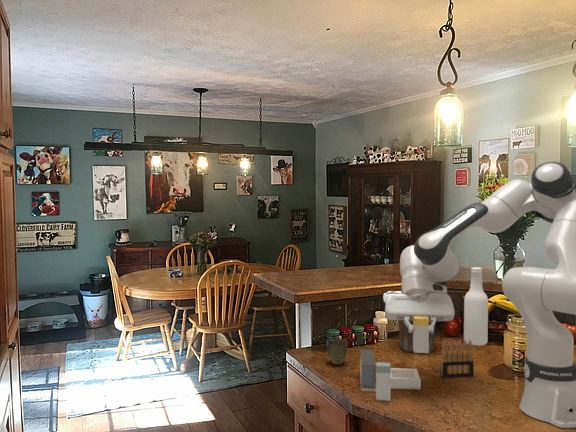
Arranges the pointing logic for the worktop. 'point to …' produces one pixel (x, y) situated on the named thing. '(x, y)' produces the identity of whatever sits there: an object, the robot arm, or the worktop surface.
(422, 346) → the block
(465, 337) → the white bottle
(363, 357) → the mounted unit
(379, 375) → the block
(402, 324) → the plant pot
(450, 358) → the ammunition clip
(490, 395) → the worktop surface
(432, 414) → the worktop surface
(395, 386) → the parts tray
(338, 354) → the cup
